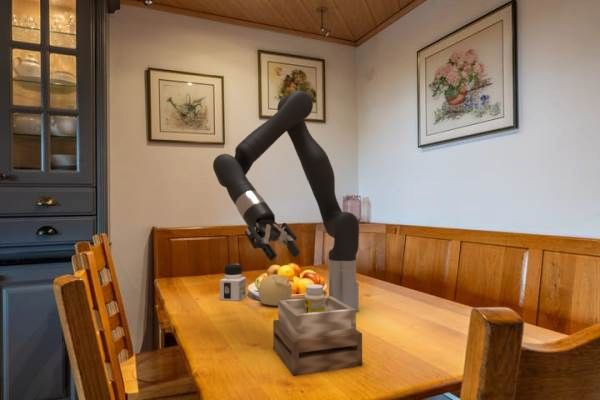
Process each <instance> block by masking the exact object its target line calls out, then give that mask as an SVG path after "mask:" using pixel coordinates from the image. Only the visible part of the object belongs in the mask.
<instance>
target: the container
mask: <svg viewBox="0 0 600 400" xmlns="http://www.w3.org/2000/svg"><path fill="white" fill-rule="evenodd" d="M245 297H247V278H246V277H245V276H243V266H242V265H241V264H239V263H229V264H228V263H227V264H226V265H224V278H222V279H220V281H219V299H220V301H229V302H230V301H235V302H240V301H241V300H242V299H244V298H245Z"/></svg>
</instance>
